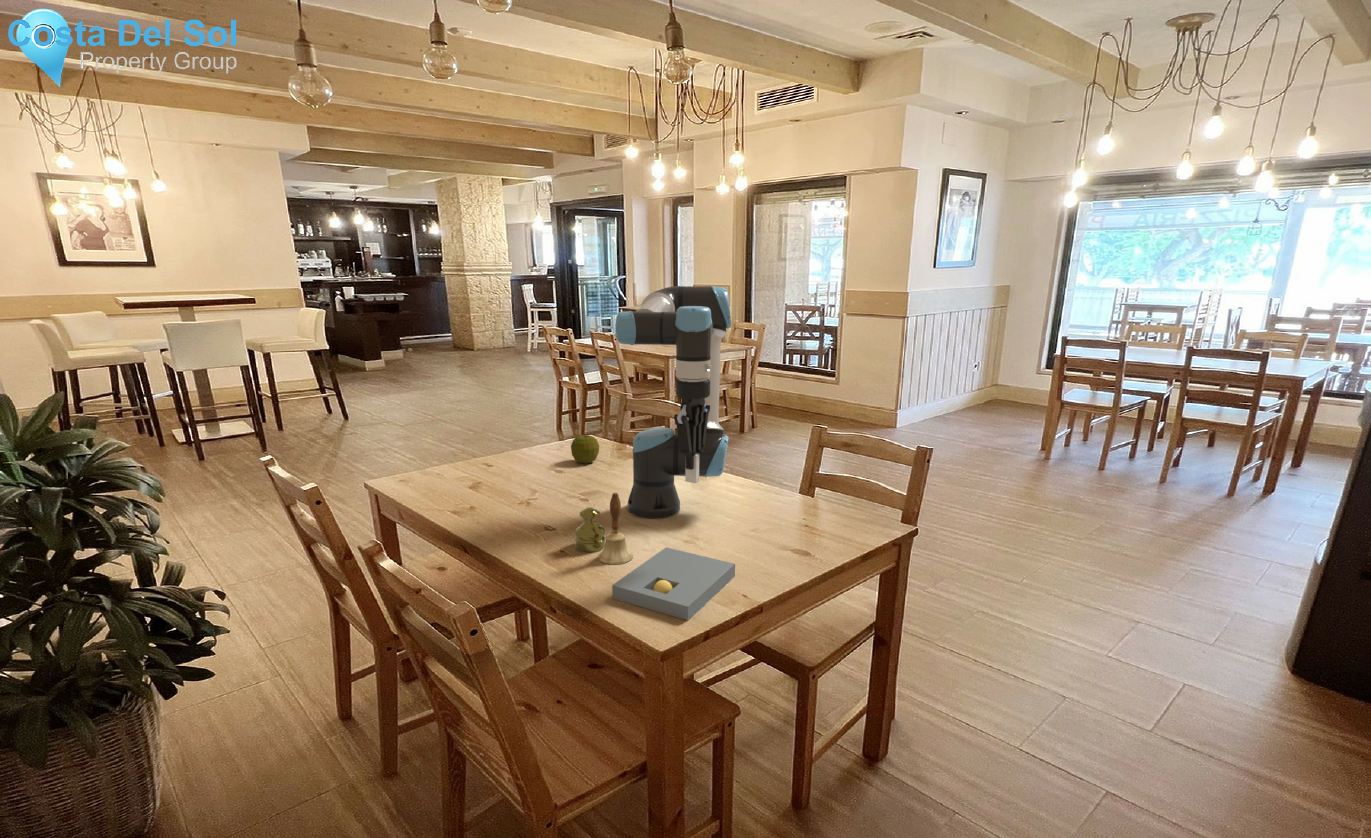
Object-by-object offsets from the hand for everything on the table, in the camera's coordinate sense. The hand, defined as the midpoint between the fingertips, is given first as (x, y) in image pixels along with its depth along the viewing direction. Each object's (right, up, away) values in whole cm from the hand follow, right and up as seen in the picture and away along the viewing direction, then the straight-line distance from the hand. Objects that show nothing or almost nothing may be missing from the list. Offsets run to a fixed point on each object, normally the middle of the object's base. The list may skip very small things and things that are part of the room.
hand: (692, 481), depth 146 cm
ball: (-5, -22, -10) cm, 25 cm away
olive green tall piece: (-25, -18, +15) cm, 34 cm away
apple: (-37, -2, +86) cm, 94 cm away
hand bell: (-18, -19, +9) cm, 28 cm away
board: (-4, -22, -6) cm, 23 cm away
